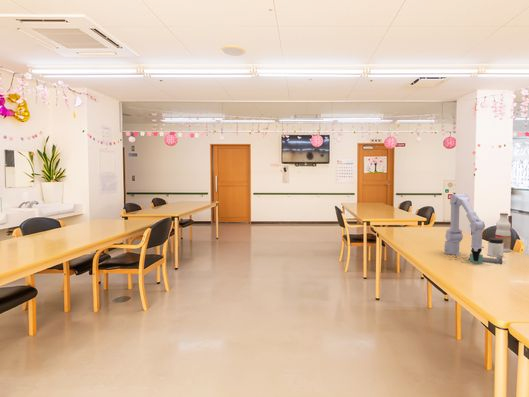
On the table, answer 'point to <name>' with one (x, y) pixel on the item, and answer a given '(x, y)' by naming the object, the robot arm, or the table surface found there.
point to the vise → (492, 260)
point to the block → (478, 259)
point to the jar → (495, 247)
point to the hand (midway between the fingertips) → (476, 260)
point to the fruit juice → (504, 231)
